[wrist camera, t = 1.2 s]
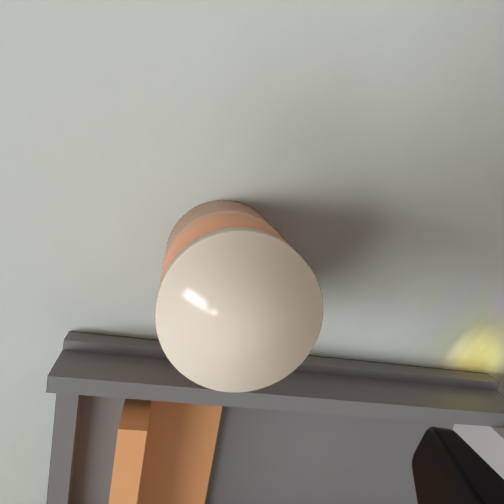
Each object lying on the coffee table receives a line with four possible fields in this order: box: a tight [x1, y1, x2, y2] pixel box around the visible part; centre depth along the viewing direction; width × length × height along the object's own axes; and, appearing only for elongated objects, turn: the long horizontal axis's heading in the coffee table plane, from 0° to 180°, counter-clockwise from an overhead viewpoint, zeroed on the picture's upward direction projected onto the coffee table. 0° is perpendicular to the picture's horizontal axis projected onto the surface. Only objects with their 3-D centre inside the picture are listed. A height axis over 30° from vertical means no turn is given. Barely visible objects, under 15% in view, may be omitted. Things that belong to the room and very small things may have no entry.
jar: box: [155, 200, 323, 393], centre depth 19 cm, size 6×6×8 cm
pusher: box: [109, 399, 222, 504], centre depth 22 cm, size 8×5×4 cm, turn 170°
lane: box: [46, 331, 504, 504], centre depth 23 cm, size 12×24×6 cm, turn 80°
